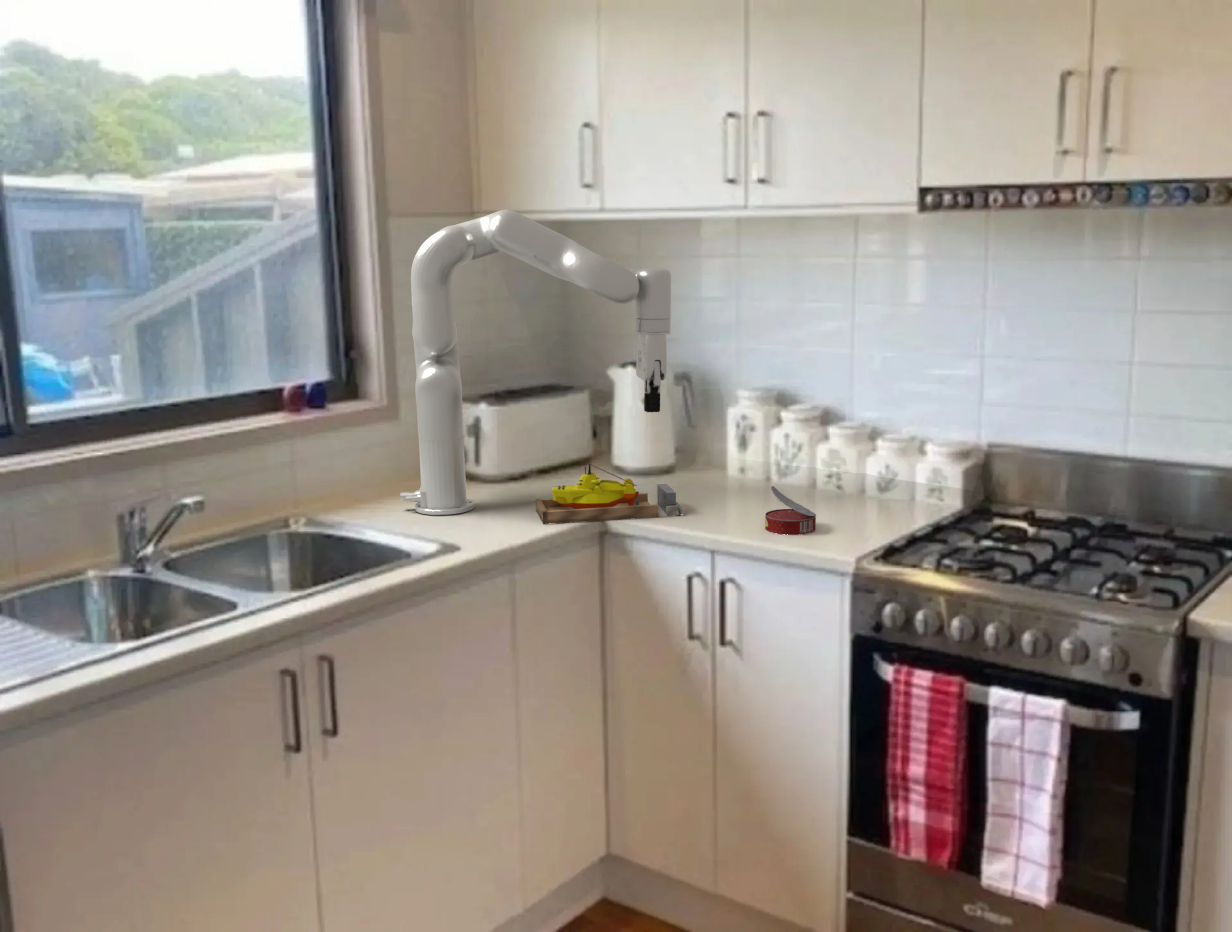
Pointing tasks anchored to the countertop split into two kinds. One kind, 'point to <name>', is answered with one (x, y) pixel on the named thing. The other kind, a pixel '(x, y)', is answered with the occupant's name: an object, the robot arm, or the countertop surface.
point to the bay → (601, 511)
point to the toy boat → (595, 492)
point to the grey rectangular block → (665, 496)
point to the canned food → (790, 518)
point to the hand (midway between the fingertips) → (652, 411)
